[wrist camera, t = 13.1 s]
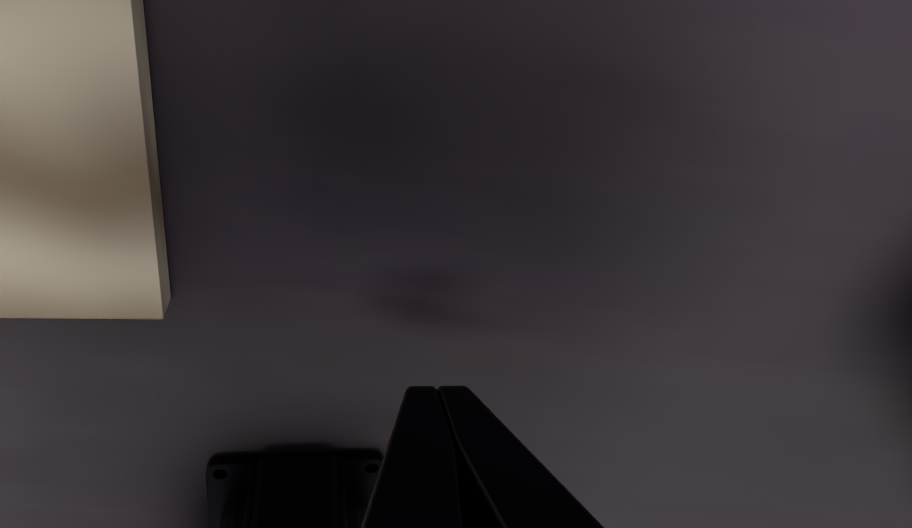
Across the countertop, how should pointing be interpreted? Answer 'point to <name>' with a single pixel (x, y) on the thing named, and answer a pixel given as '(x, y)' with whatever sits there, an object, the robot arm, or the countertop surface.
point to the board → (79, 163)
